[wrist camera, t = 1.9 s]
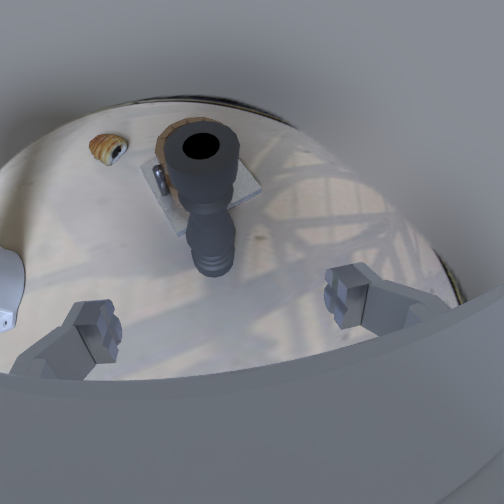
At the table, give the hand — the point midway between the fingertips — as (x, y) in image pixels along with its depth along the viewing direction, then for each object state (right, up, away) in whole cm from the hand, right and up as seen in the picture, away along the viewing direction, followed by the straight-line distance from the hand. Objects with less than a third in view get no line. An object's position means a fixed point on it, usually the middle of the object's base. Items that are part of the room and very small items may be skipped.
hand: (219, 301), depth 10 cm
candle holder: (-5, +1, +33) cm, 33 cm away
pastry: (-28, +22, +39) cm, 53 cm away
